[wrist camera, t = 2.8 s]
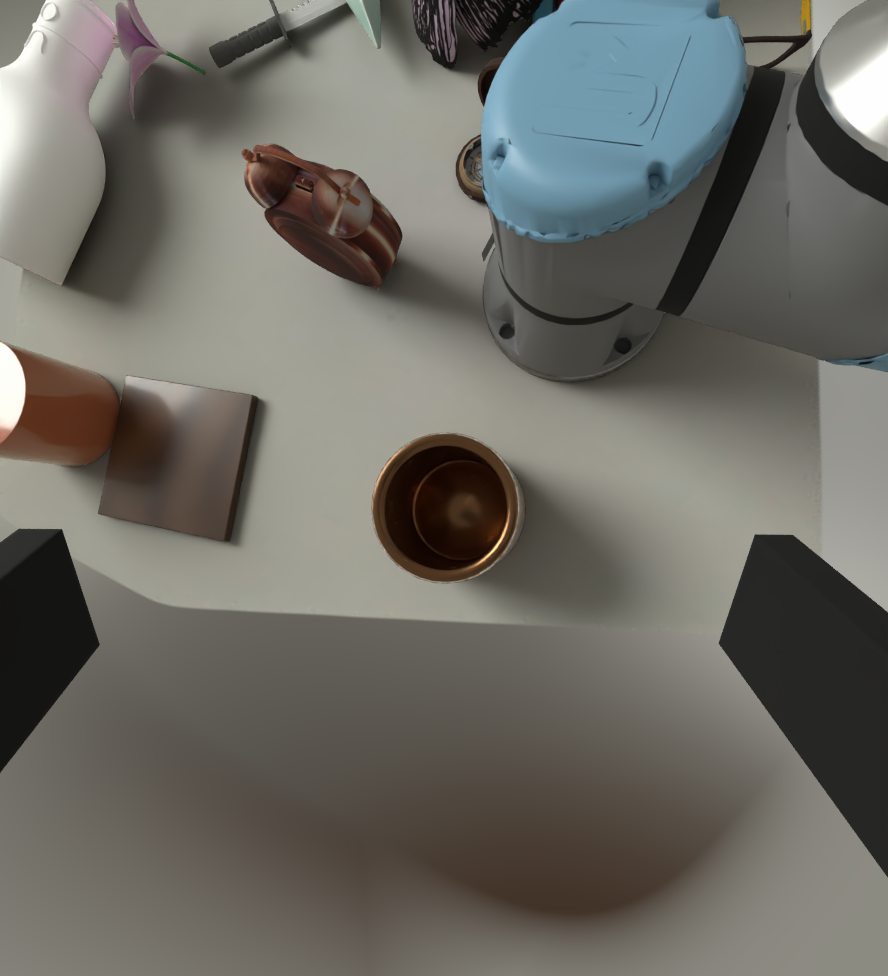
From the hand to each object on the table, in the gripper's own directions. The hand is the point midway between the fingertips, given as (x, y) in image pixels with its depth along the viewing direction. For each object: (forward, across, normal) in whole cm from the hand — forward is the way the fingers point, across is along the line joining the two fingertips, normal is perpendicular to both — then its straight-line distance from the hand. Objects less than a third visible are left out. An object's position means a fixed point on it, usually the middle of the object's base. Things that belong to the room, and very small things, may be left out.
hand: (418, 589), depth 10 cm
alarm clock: (+46, -6, +3) cm, 46 cm away
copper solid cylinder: (+45, -35, -12) cm, 58 cm away
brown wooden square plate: (+40, -23, -14) cm, 49 cm away
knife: (+57, -11, +23) cm, 62 cm away
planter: (+32, +4, -16) cm, 36 cm away
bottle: (+58, -37, +12) cm, 70 cm away
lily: (+60, -26, +20) cm, 68 cm away
